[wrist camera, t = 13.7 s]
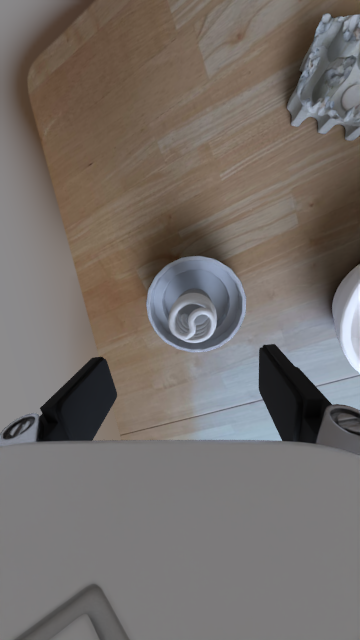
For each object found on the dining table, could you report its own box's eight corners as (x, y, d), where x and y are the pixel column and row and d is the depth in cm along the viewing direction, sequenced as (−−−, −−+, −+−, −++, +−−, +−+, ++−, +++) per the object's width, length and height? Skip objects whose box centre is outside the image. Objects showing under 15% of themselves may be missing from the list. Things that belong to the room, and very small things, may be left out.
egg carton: (402, 68, 19) (454, 19, 15) (357, 152, 22) (391, 129, 18) (311, 34, 19) (340, -24, 15) (276, 123, 21) (293, 93, 18)
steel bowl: (150, 327, 32) (140, 340, 27) (163, 247, 28) (155, 245, 22) (223, 344, 32) (227, 361, 27) (250, 267, 27) (261, 269, 22)
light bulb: (194, 276, 28) (191, 288, 17) (219, 300, 29) (231, 326, 18) (171, 300, 30) (154, 326, 18) (194, 322, 31) (192, 359, 19)
